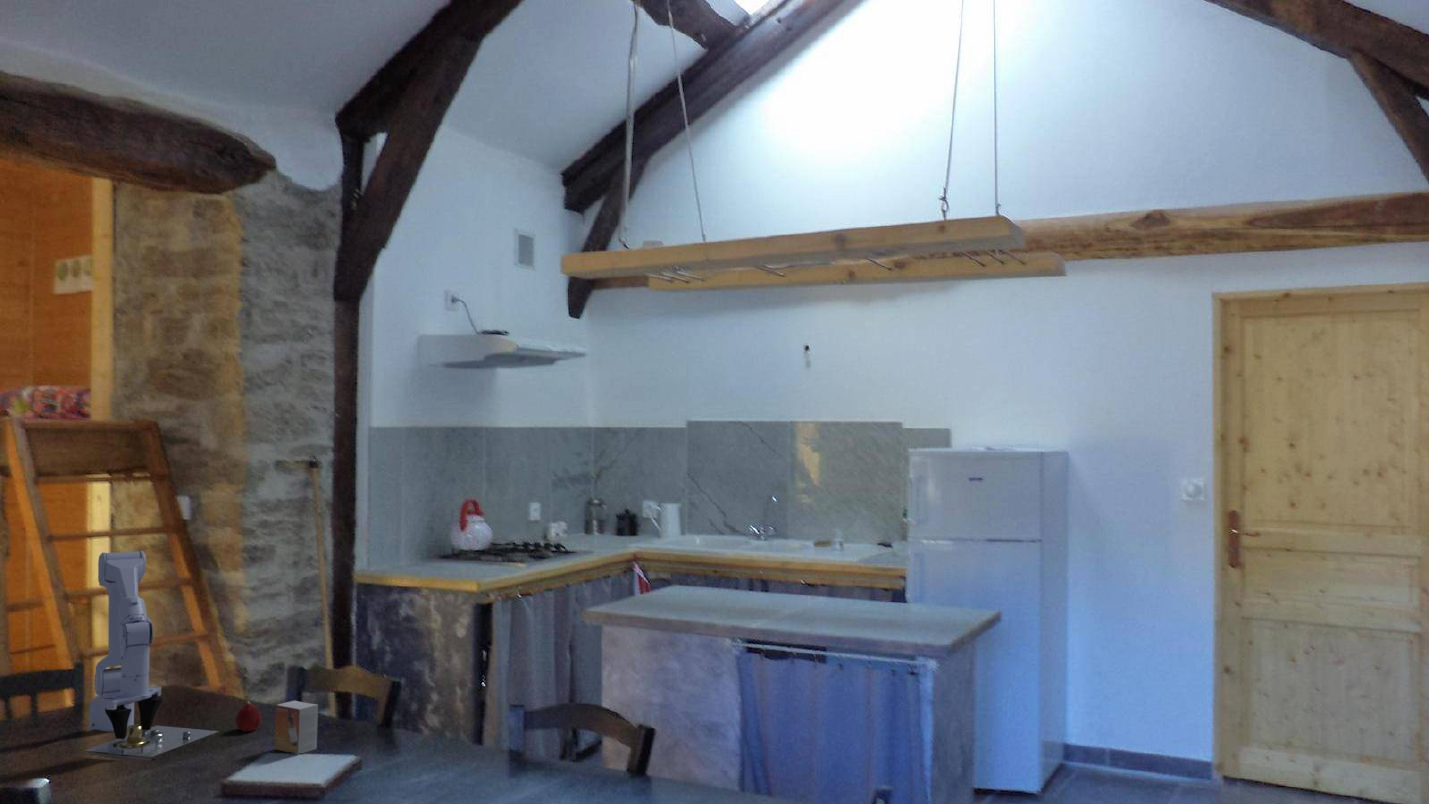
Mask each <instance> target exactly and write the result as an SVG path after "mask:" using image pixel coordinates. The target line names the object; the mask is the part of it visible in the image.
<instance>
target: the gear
mask: <svg viewBox="0 0 1429 804" xmlns="http://www.w3.org/2000/svg"><path fill="white" fill-rule="evenodd" d="M126 736H127V740H125V741H122V743H119V748H133V747H140V746H143V745H146V744H149V740H146V739H144V738H143V739H142V725H140V724H134V725H130V726H128V727H127V734H126Z"/></svg>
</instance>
